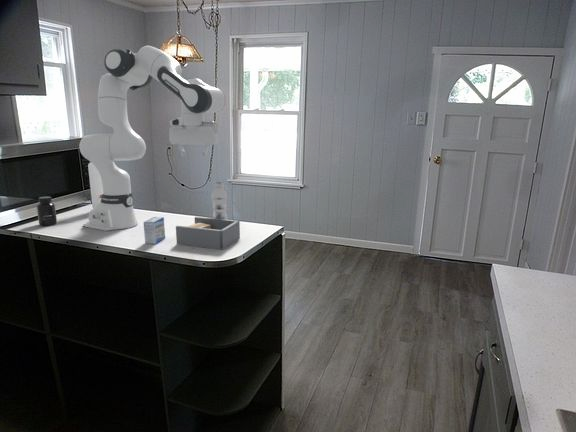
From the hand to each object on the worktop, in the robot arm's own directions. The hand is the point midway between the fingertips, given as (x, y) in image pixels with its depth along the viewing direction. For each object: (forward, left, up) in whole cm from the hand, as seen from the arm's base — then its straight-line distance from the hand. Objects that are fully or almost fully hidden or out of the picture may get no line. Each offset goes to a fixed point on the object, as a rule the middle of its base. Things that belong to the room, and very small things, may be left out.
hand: (194, 155), depth 166 cm
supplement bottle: (-64, -16, -31) cm, 73 cm away
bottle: (-59, +11, -31) cm, 68 cm away
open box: (+13, -14, -31) cm, 36 cm away
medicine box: (-7, -21, -31) cm, 38 cm away
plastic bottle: (+10, +2, -31) cm, 33 cm away
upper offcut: (+8, -14, -28) cm, 33 cm away
